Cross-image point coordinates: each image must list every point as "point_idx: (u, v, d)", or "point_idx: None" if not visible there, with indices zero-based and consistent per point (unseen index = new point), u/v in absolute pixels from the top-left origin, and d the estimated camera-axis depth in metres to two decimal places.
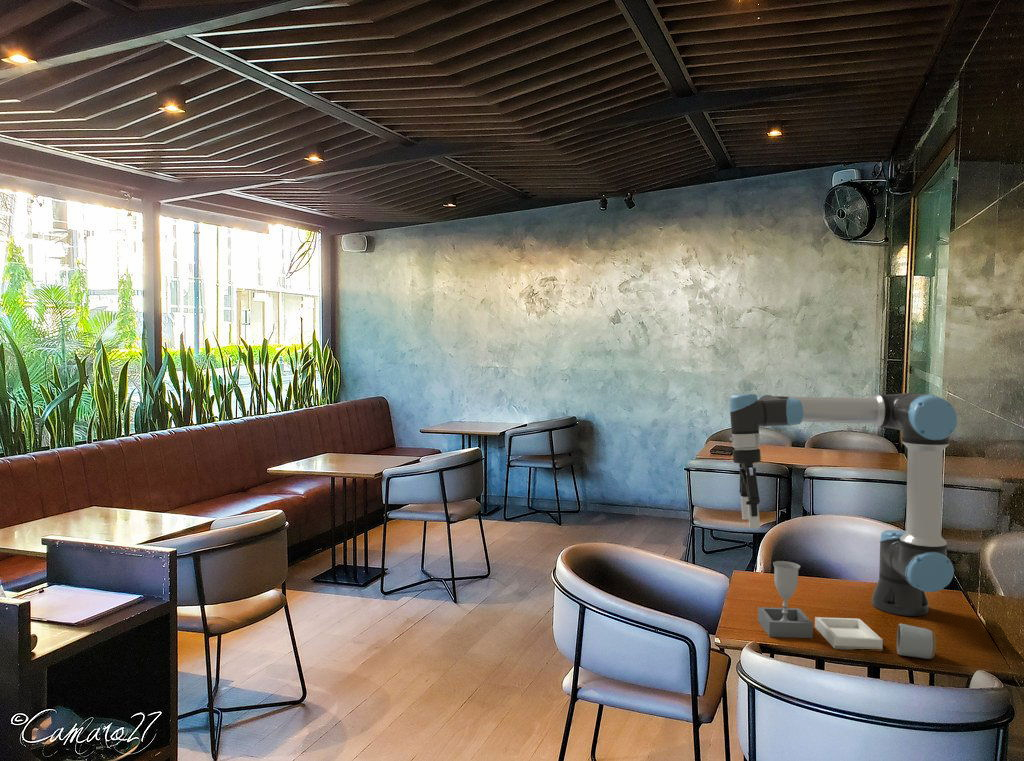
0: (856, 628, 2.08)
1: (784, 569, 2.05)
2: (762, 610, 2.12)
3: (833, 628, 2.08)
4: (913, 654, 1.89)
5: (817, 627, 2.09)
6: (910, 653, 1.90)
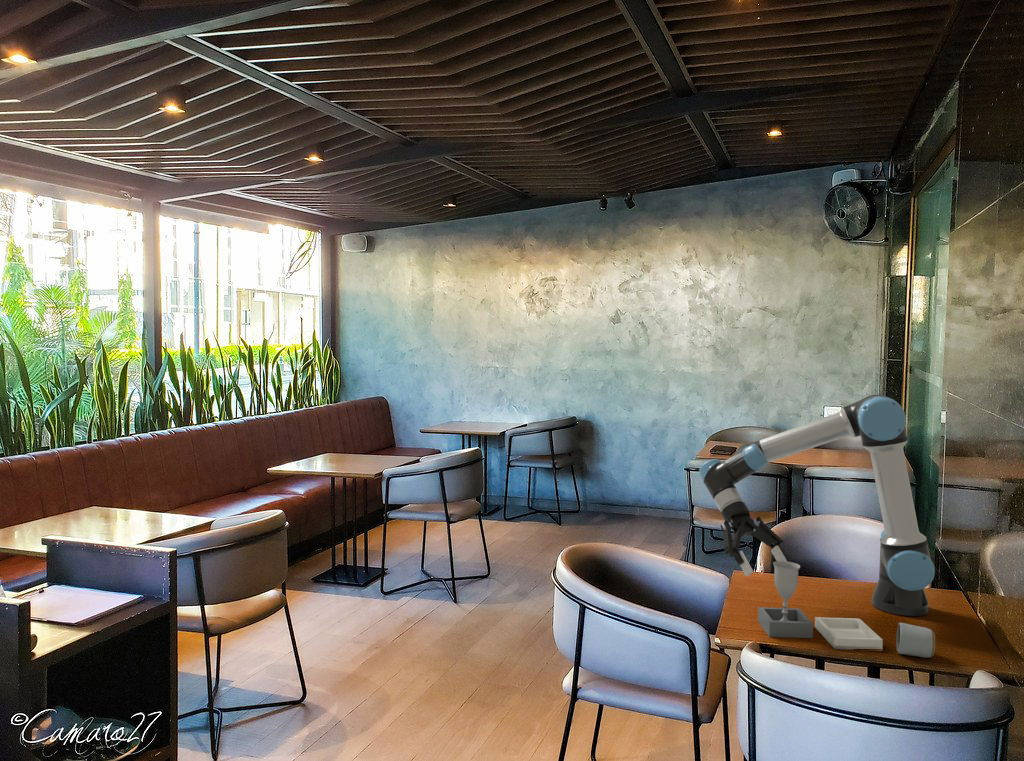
0: (856, 628, 2.08)
1: (784, 569, 2.05)
2: (762, 610, 2.12)
3: (833, 628, 2.08)
4: (913, 653, 1.90)
5: (817, 627, 2.09)
6: (909, 651, 1.90)
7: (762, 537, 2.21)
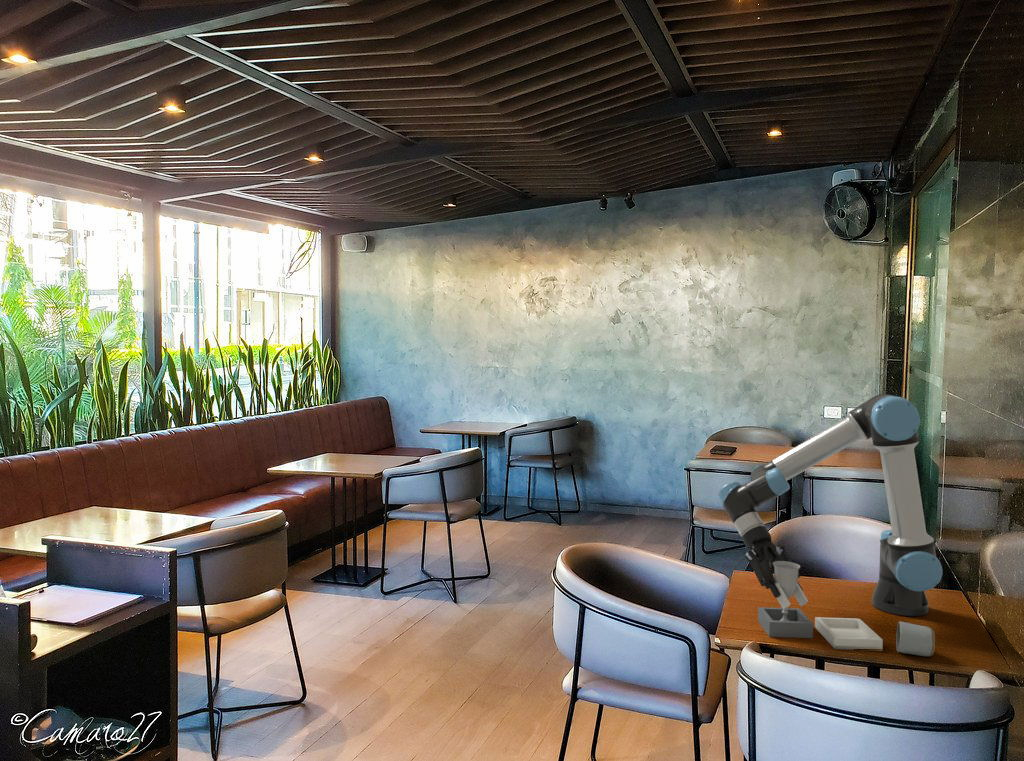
0: (856, 628, 2.08)
1: (784, 569, 2.05)
2: (762, 610, 2.12)
3: (833, 628, 2.08)
4: (912, 652, 1.91)
5: (817, 627, 2.09)
6: (909, 650, 1.91)
7: None
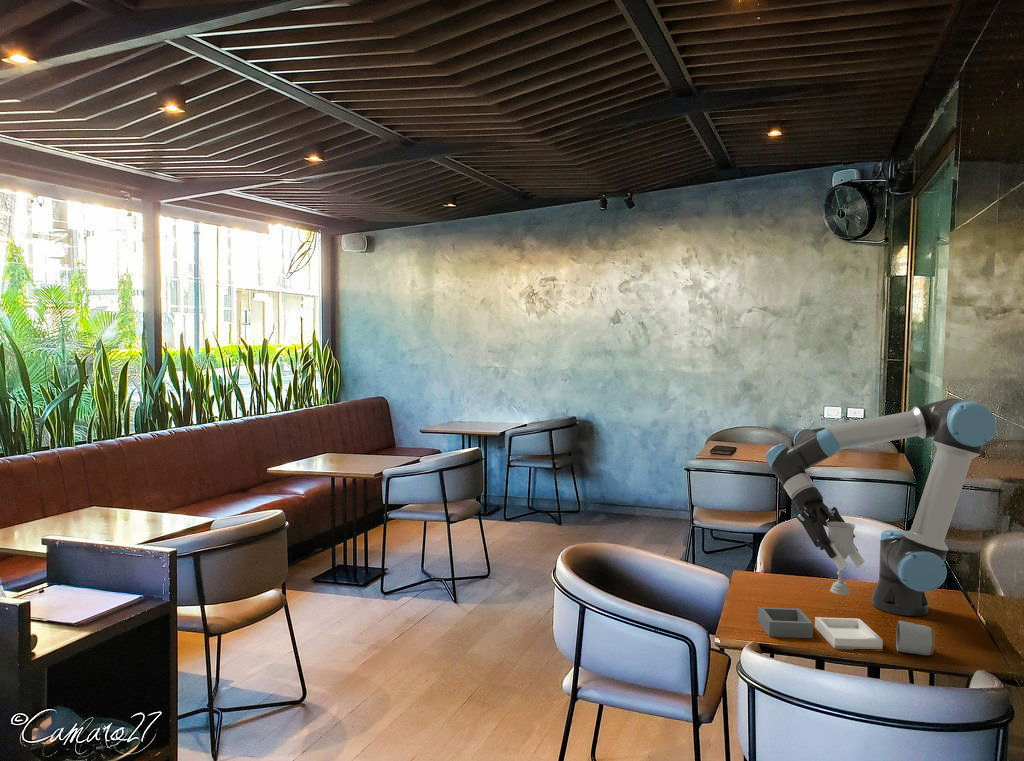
0: (856, 628, 2.08)
1: (839, 529, 2.00)
2: (762, 610, 2.12)
3: (833, 628, 2.08)
4: (912, 651, 1.92)
5: (817, 627, 2.09)
6: (909, 649, 1.92)
7: None
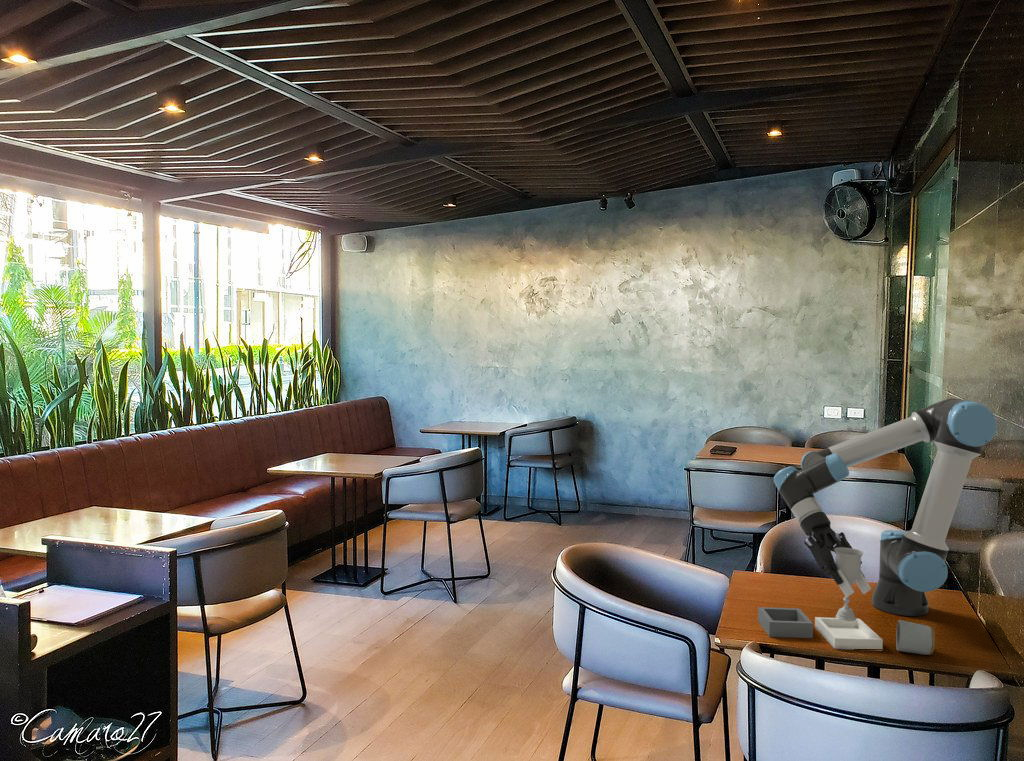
0: (856, 628, 2.08)
1: (847, 555, 1.99)
2: (762, 610, 2.12)
3: (833, 628, 2.08)
4: (912, 650, 1.92)
5: (817, 627, 2.09)
6: (909, 649, 1.92)
7: None
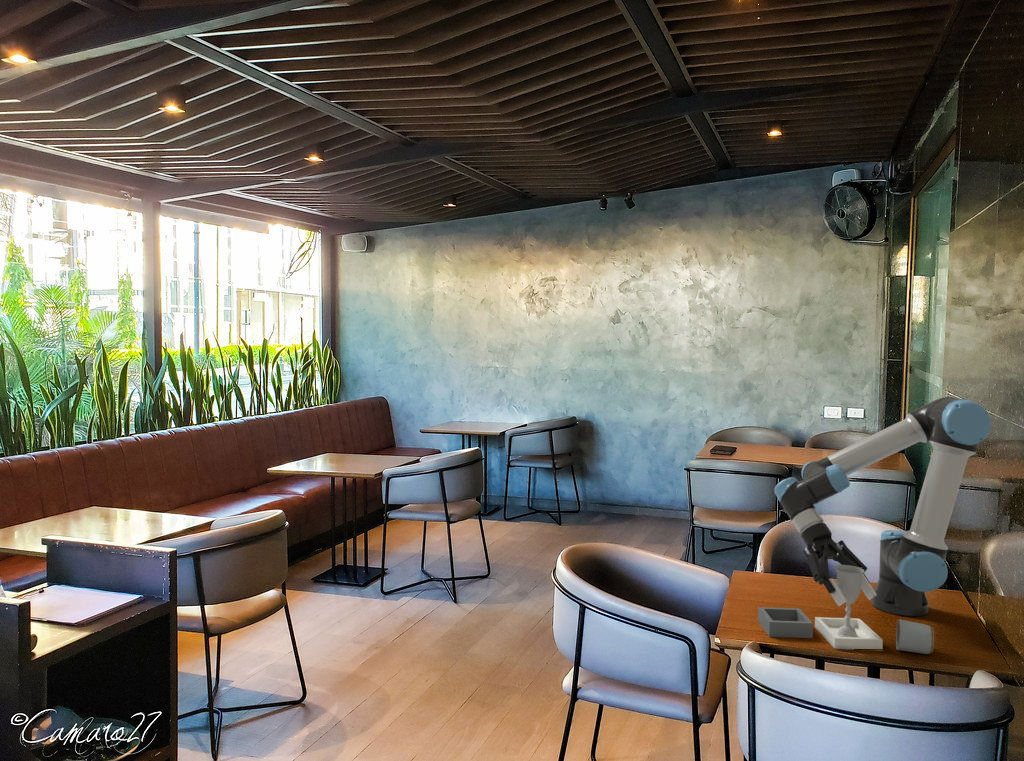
0: (856, 628, 2.08)
1: (848, 574, 1.99)
2: (762, 610, 2.12)
3: (833, 628, 2.08)
4: (912, 649, 1.92)
5: (817, 627, 2.09)
6: (909, 648, 1.92)
7: (845, 562, 2.08)
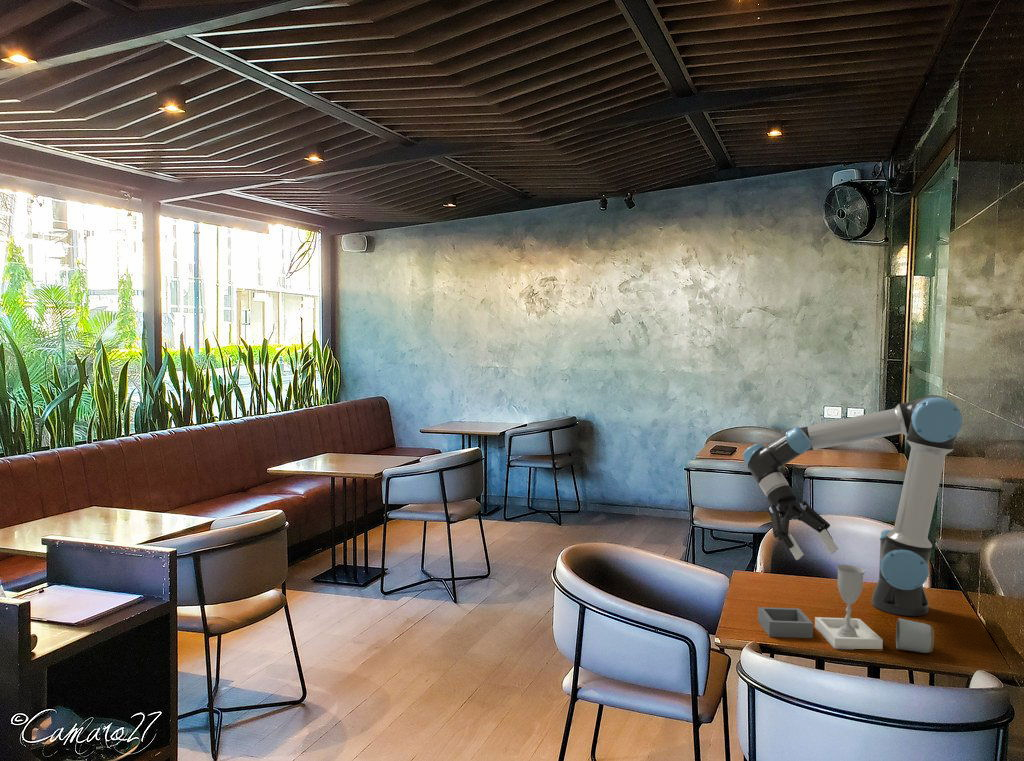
0: (856, 628, 2.08)
1: (849, 573, 1.99)
2: (762, 610, 2.12)
3: (833, 628, 2.08)
4: (912, 648, 1.93)
5: (817, 627, 2.09)
6: (909, 647, 1.93)
7: (809, 521, 2.19)
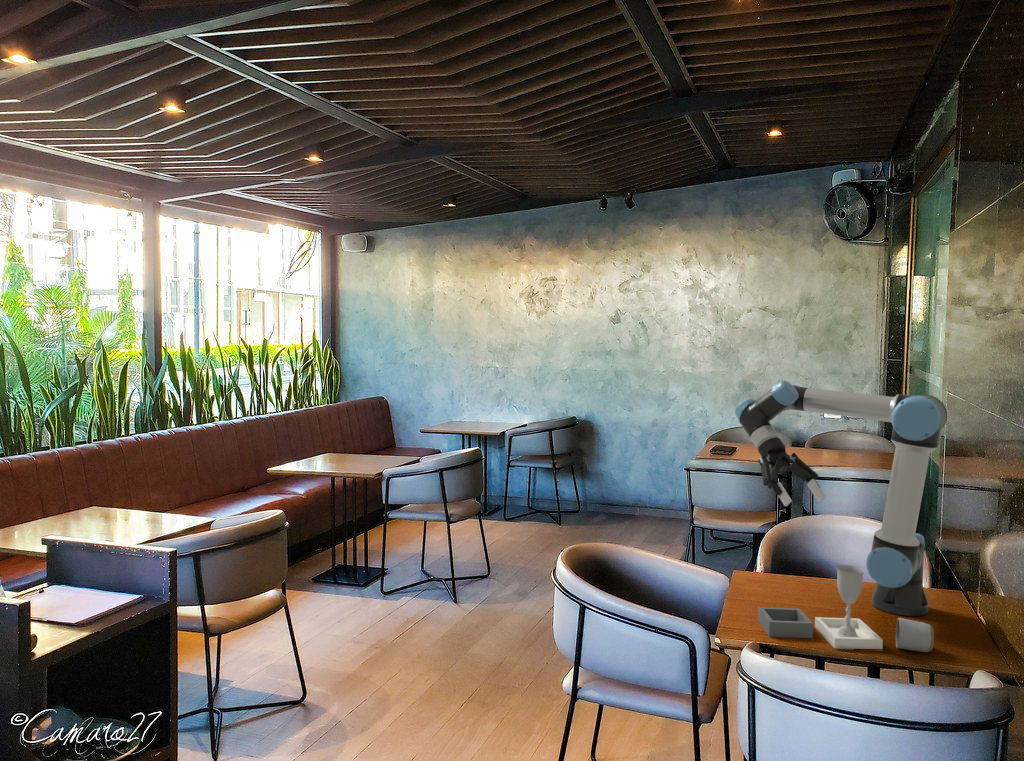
0: (856, 628, 2.08)
1: (848, 573, 1.99)
2: (762, 610, 2.12)
3: (833, 628, 2.08)
4: (912, 647, 1.94)
5: (817, 627, 2.09)
6: (908, 646, 1.94)
7: (798, 471, 2.28)
